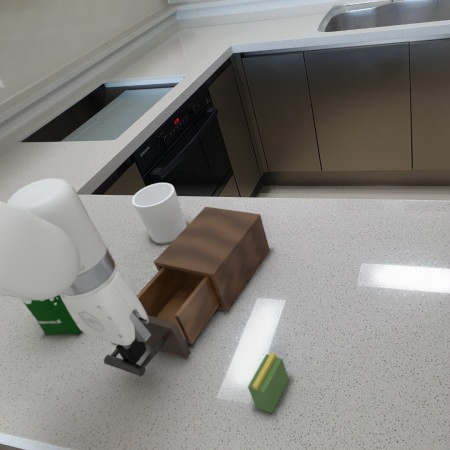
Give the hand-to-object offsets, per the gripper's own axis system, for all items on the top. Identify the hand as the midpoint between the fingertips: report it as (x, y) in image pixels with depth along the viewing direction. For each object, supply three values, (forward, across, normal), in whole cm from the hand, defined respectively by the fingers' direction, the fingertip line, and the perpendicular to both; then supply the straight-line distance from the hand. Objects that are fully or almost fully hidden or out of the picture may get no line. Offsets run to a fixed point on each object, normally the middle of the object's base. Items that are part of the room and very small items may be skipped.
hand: (136, 356), depth 70 cm
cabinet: (+4, 0, +23) cm, 23 cm away
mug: (+4, -20, +32) cm, 38 cm away
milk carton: (+4, -22, +5) cm, 23 cm away
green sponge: (+4, +21, +3) cm, 22 cm away
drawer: (+3, 0, +8) cm, 9 cm away
